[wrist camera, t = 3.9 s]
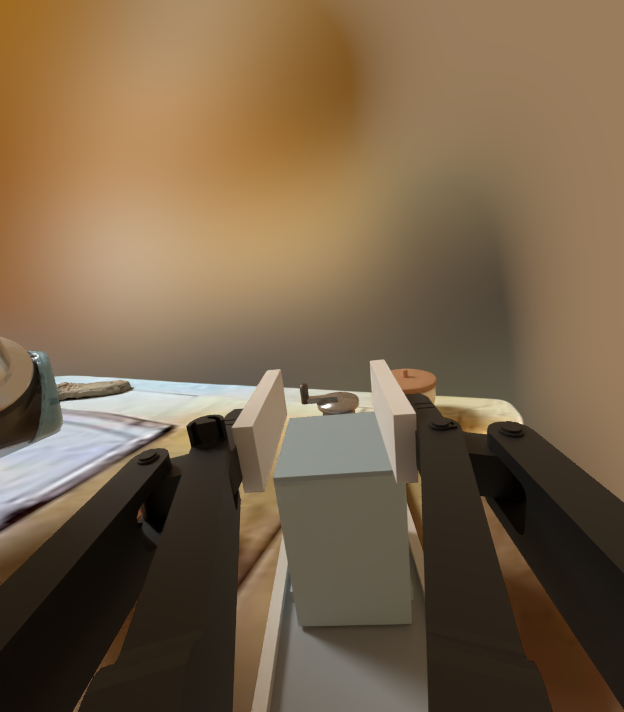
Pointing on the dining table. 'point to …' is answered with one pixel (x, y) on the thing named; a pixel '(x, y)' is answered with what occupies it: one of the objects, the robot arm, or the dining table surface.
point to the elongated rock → (91, 389)
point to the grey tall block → (343, 523)
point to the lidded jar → (416, 382)
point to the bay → (343, 655)
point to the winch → (331, 401)
